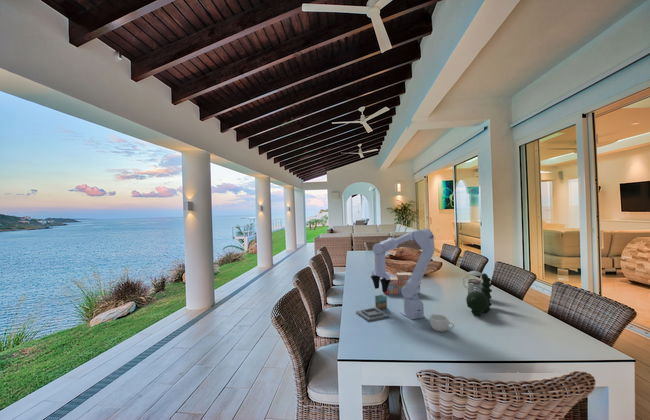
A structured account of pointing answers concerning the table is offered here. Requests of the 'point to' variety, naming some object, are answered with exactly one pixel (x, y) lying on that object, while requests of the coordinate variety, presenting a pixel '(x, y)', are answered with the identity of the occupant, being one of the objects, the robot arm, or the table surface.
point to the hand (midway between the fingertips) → (380, 290)
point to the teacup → (440, 322)
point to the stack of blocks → (397, 283)
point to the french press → (474, 280)
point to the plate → (372, 314)
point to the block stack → (381, 302)
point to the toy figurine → (480, 297)
